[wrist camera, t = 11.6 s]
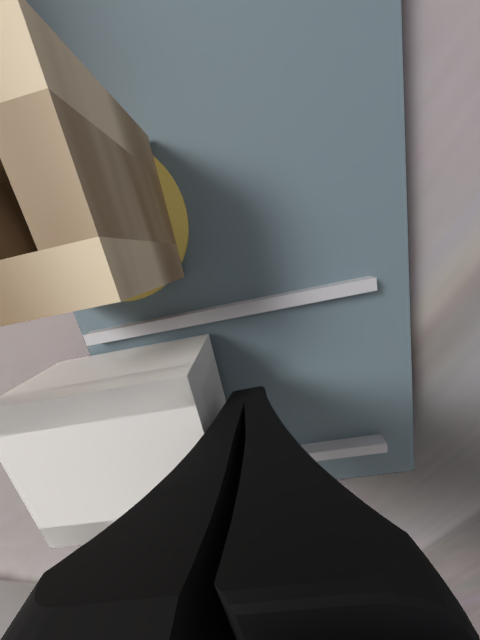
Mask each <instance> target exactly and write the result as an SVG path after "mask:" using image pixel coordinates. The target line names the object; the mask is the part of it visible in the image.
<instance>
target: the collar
mask: <svg viewBox="0 0 480 640" xmlns="http://www.w3.org/2000/svg"><path fill="white" fill-rule="evenodd" d="M184 277H185V275H184V271H183V267H182V263H181V260H180V256H179V252H178V248H177V245H176V241H175V237H174V233H173V229H172V226H171V222H170V218H169V214H168V210H167V207H166V203H165V199H164V195H163V192H162V188H161V184H160V180H159V176H158V173H157V169H156V165H155V161H154V157H153V154H152V150H151V146H150V142H149V139H148V135H147V134H146V133H145V132H144V131H143V130H142V129H141V128H140V126H139V125H138V124H137V123H136V122H135V121H134V120H133V119H132V118H131V117H130V115H129V114H128V113H127V112H126V111H125V110H124V109H123V108H122V107H121V105H120V104H119V103H118V102H117V101H116V100H115V99H114V98H113V97H112V96H111V94H110V93H109V92H108V91H107V90H106V89H105V88H104V87H103V86H102V84H101V83H100V82H99V81H98V80H97V79H96V78H95V77H94V76H93V75H92V73H91V72H90V71H89V70H88V69H87V68H86V67H85V66H84V65H83V63H82V62H81V61H80V60H79V59H78V58H77V57H76V56H75V55H74V53H73V52H72V51H71V50H70V49H69V48H68V47H67V46H66V45H65V44H64V42H63V41H62V40H61V39H60V38H59V37H58V36H57V35H56V34H55V32H54V31H53V30H52V29H51V28H50V27H49V26H48V25H47V24H46V23H45V21H44V20H43V19H42V18H41V17H40V16H39V15H38V14H37V13H36V11H35V10H34V9H33V8H32V7H31V6H30V5H29V4H28V3H27V2H26V0H0V327H1V326H5V325H10V324H15V323H20V322H25V321H30V320H35V319H39V318H44V317H49V316H54V315H59V314H64V313H69V312H73V311H78V310H83V309H88V308H93V307H98V306H103V305H108V304H112V303H117V302H122V301H124V300H127V299H129V298H132V297H134V296H137V295H140V294H142V293H145V292H147V291H150V290H153V289H155V288H158V287H160V286H163V285H165V284H168V283H171V282H173V281H176V280H178V279H181V278H184Z"/></svg>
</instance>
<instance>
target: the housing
mask: <svg viewBox="0 0 480 640" xmlns="http://www.w3.org/2000/svg"><path fill="white" fill-rule="evenodd" d="M225 403H226V399H225V395H224V391H223V387H222V384H221V380H220V376H219V372H218V368H217V364H216V360H215V356H214V352H213V349H212V345H211V341H210V337H209V334H205V335H200V336H194V337H189V338H184V339H178V340H173V341H168V342H162V343H157V344H152V345H146V346H141V347H136V348H130V349H125V350H120V351H114V352H109V353H104V354H98V355H93V356H88V357H82V358H77V359H72V360H66V361H61V362H58V363H57V364H55V365H53V366H51V367H50V368H48V369H46V370H44V371H43V372H41V373H39V374H37V375H36V376H34V377H32V378H30V379H29V380H27V381H25V382H23V383H22V384H20V385H18V386H17V387H15V388H13V389H11V390H10V391H8V392H6V393H4V394H3V395H1V396H0V462H1V464H2V465H3V467H4V469H5V471H6V472H7V474H8V476H9V478H10V479H11V481H12V483H13V485H14V486H15V488H16V490H17V491H18V493H19V495H20V497H21V498H22V500H23V502H24V504H25V505H26V507H27V509H28V511H29V512H30V514H31V516H32V517H33V519H34V521H35V523H36V524H37V526H38V528H39V530H40V531H41V533H42V535H43V537H44V538H45V540H46V542H47V543H48V545H49V547H50V548H56V547H66V546H76V545H84V544H85V543H87V542H88V541H90V540H91V539H92V538H94V537H95V536H97V535H98V534H99V533H100V532H102V531H103V530H104V529H106V528H107V527H108V526H110V525H111V524H112V523H113V522H115V521H116V520H117V519H118V518H120V517H121V516H122V515H123V514H125V513H126V512H127V511H128V510H129V509H131V508H132V507H133V506H134V505H135V504H136V503H138V502H139V501H140V500H141V499H142V498H143V497H145V496H146V495H147V494H148V493H149V492H150V491H151V490H152V489H153V488H154V487H155V486H156V485H157V484H158V483H160V482H161V481H162V480H163V479H164V478H165V477H166V476H167V475H168V474H169V473H170V472H171V471H172V470H173V469H174V468H175V467H176V466H177V465H178V464H179V463H180V462H181V461H182V460H183V458H184V457H185V456H186V455H187V454H188V453H189V452H190V451H191V449H192V448H193V447H194V446H195V445H196V444H197V442H198V441H199V440H200V438H201V437H202V436H203V434H204V433H205V432H206V431H207V429H208V428H209V427H210V425H211V424H212V422H213V421H214V419H215V418H216V416H217V415H218V413H219V412H220V410H221V409H222V407H223V406H224V404H225Z"/></svg>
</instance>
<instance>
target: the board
mask: <svg viewBox="0 0 480 640" xmlns="http://www.w3.org/2000/svg"><path fill="white" fill-rule="evenodd" d="M26 2H27V3H28V4H29V5H30V6H31V7H32V8H33V9H34V10H35V11H36V13H37V14H38V15H39V16H40V17H41V18H42V19H43V20H44V21H45V23H46V24H47V25H48V26H49V27H50V28H51V29H52V30H53V31H54V32H55V34H56V35H57V36H58V37H59V38H60V39H61V40H62V41H63V42H64V44H65V45H66V46H67V47H68V48H69V49H70V50H71V51H72V52H73V53H74V55H75V56H76V57H77V58H78V59H79V60H80V61H81V62H82V63H83V65H84V66H85V67H86V68H87V69H88V70H89V71H90V72H91V73H92V75H93V76H94V77H95V78H96V79H97V80H98V81H99V82H100V83H101V84H102V86H103V87H104V88H105V89H106V90H107V91H108V92H109V93H110V94H111V96H112V97H113V98H114V99H115V100H116V101H117V102H118V103H119V104H120V105H121V107H122V108H123V109H124V110H125V111H126V112H127V113H128V114H129V115H130V117H131V118H132V119H133V120H134V121H135V122H136V123H137V124H138V125H139V126H140V128H141V129H142V130H143V131H144V132H145V133H146V134H147V135H148V139H149V142H150V146H151V150H152V154H153V157H154V161H155V165H156V169H157V173H158V176H159V180H160V184H161V188H162V192H163V195H164V199H165V203H166V207H167V210H168V214H169V218H170V222H171V226H172V229H173V233H174V237H175V241H176V245H177V248H178V252H179V256H180V260H181V263H182V267H183V271H184V275H185V277H184V278H181V279H178V280H176V281H173V282H171V283H168V284H165V285H163V286H160V287H158V288H155V289H153V290H150V291H147V292H145V293H142V294H140V295H137V296H134V297H132V298H129V299H127V300H124V301H122V302H117V303H112V304H108V305H103V306H98V307H93V308H88V309H83V310H78V311H73V313H74V315H75V318H76V320H77V323H78V325H79V328H80V330H81V333H82V335H83V338H84V340H85V343H86V345H87V348H88V350H89V353H90V355H91V356H93V355H98V354H104V353H109V352H114V351H120V350H125V349H130V348H136V347H141V346H146V345H152V344H157V343H162V342H168V341H173V340H178V339H184V338H189V337H194V336H200V335H205V334H209V337H210V341H211V345H212V349H213V352H214V356H215V360H216V364H217V368H218V372H219V376H220V380H221V384H222V387H223V391H224V395H225V399H226V401H227V400H228V398H229V396H230V395H231V394H232V392H233V391H237V390H242V389H248V388H253V387H258V386H263V387H264V388H265V390H266V394H267V398H268V400H269V402H270V404H271V406H272V407H273V409H274V411H275V412H276V414H277V416H278V417H279V419H280V420H281V421H282V423H283V424H284V426H285V427H286V428H287V430H288V431H289V432H290V433H291V435H292V436H293V437H294V438H295V440H296V441H297V442H298V443H299V444H300V445H301V446H302V447H303V449H304V450H305V451H306V452H307V453H308V454H309V455H310V456H311V457H312V458H313V459H314V460H315V461H316V462H317V463H318V464H319V465H320V466H321V467H323V468H324V469H325V470H326V471H327V472H328V473H329V474H330V475H332V476H333V477H334V478H335V479H336V480H337V479H346V478H354V477H363V476H371V475H380V474H388V473H397V472H405V471H414V470H415V468H414V433H413V398H412V364H411V329H410V294H409V259H408V225H407V190H406V155H405V120H404V85H403V51H402V16H401V0H26Z"/></svg>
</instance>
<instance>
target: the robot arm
mask: <svg viewBox="0 0 480 640" xmlns="http://www.w3.org/2000/svg"><path fill="white" fill-rule="evenodd" d="M1 640H480V639H479V635H478V634H477V632H476V630H475V629H474V627H473V625H472V624H471V622H470V620H469V618H468V616H467V615H466V613H465V611H464V610H463V608H462V607H461V605H460V604H459V602H458V600H457V599H456V598H455V596H454V595H453V593H452V592H451V590H450V589H449V587H448V586H447V585H446V583H445V582H444V580H443V579H442V577H441V576H440V575H439V573H438V572H437V571H436V569H435V568H434V567H433V565H432V564H431V563H430V561H429V560H428V559H427V557H426V556H425V555H424V553H423V552H422V551H421V550H420V548H419V547H418V546H417V545H416V543H415V542H414V541H413V540H412V538H411V537H410V536H409V535H408V534H407V533H406V532H405V531H403V530H402V529H400V528H399V527H397V526H396V525H395V524H393V523H392V522H390V521H389V520H387V519H386V518H385V517H383V516H382V515H380V514H379V513H378V512H376V511H375V510H374V509H372V508H371V507H370V506H368V505H367V504H366V503H364V502H363V501H362V500H360V499H359V498H358V497H357V496H355V495H354V494H353V493H352V492H350V491H349V490H348V489H347V488H345V487H344V486H343V485H342V484H341V483H339V482H338V481H337V480H336V479H335V478H334V477H333V476H332V475H330V474H329V473H328V472H327V471H326V470H325V469H324V468H323V467H321V466H320V465H319V464H318V463H317V462H316V461H315V460H314V459H313V458H312V457H311V456H310V455H309V454H308V453H307V452H306V451H305V450H304V449H303V447H302V446H301V445H300V444H299V443H298V442H297V441H296V440H295V438H294V437H293V436H292V435H291V433H290V432H289V431H288V430H287V428H286V427H285V426H284V424H283V423H282V421H281V420H280V419H279V417H278V416H277V414H276V412H275V411H274V409H273V407H272V406H271V404H270V402H269V400H268V398H267V394H266V390H265V388H264V387H263V386H258V387H253V388H248V389H242V390H237V391H233V392H232V394H231V395H230V396H229V398H228V400H227V401H226V403H225V404H224V406H223V407H222V409H221V410H220V412H219V413H218V415H217V416H216V418H215V419H214V421H213V422H212V424H211V425H210V427H209V428H208V429H207V431H206V432H205V433H204V434H203V436H202V437H201V438H200V440H199V441H198V442H197V444H196V445H195V446H194V447H193V448H192V449H191V451H190V452H189V453H188V454H187V455H186V456H185V457H184V458H183V460H182V461H181V462H180V463H179V464H178V465H177V466H176V467H175V468H174V469H173V470H172V471H171V472H170V473H169V474H168V475H167V476H166V477H165V478H164V479H163V480H162V481H161V482H160V483H158V484H157V485H156V486H155V487H154V488H153V489H152V490H151V491H150V492H149V493H148V494H147V495H146V496H145V497H143V498H142V499H141V500H140V501H139V502H138V503H136V504H135V505H134V506H133V507H132V508H131V509H129V510H128V511H127V512H126V513H125V514H123V515H122V516H121V517H120V518H118V519H117V520H116V521H115V522H113V523H112V524H111V525H110V526H108V527H107V528H106V529H104V530H103V531H102V532H100V533H99V534H98V535H97V536H95V537H94V538H92V539H91V540H90V541H88V542H87V543H85V544H84V545H83V546H81V547H80V548H78V549H77V550H76V551H74V552H73V553H72V554H70V555H69V556H67V557H66V558H65V559H63V560H62V561H60V562H59V563H58V564H56V565H55V566H53V567H52V568H50V569H49V570H47V571H46V572H45V573H44V574H43V575H42V577H41V578H40V580H39V581H38V583H37V584H36V586H35V587H34V589H33V591H32V592H31V594H30V595H29V597H28V598H27V600H26V602H25V603H24V605H23V606H22V607H21V609H20V611H19V612H18V614H17V615H16V617H15V618H14V620H13V621H12V623H11V625H10V626H9V628H8V629H7V631H6V632H5V634H4V635H3V637H2V638H1Z"/></svg>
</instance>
